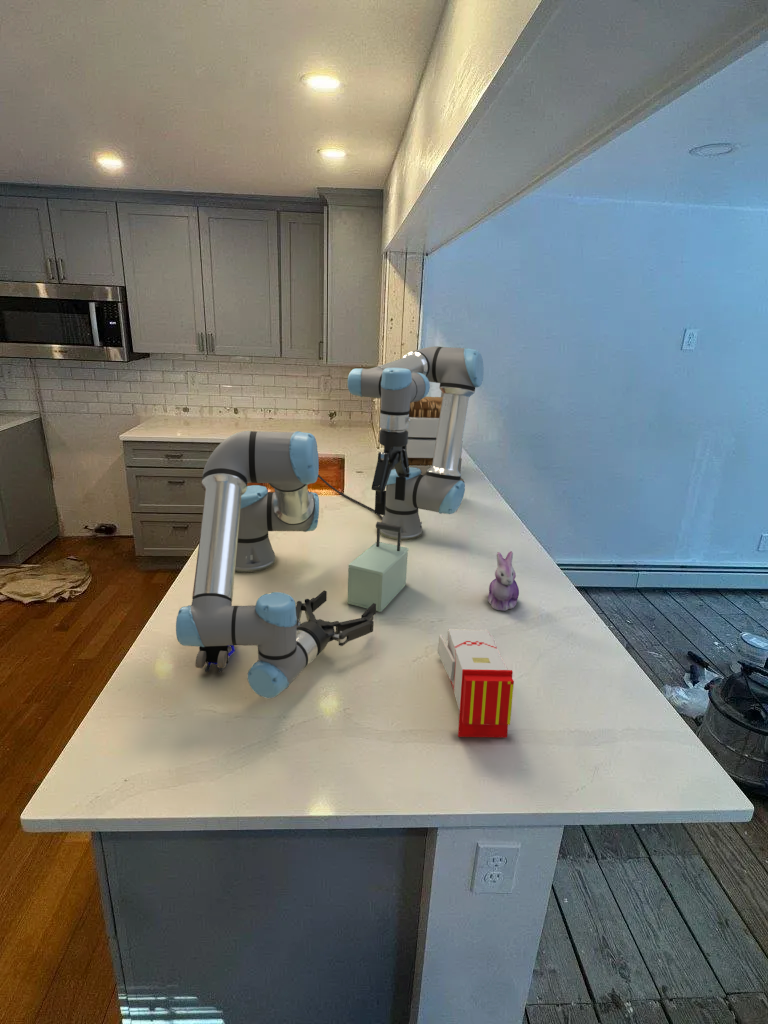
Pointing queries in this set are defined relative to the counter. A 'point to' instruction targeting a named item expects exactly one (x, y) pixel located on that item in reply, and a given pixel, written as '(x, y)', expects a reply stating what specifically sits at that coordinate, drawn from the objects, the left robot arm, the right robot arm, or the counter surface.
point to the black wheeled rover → (213, 656)
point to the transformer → (424, 431)
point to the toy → (478, 682)
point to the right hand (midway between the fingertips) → (390, 506)
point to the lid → (380, 553)
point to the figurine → (503, 584)
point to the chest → (376, 585)
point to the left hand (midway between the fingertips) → (349, 601)
